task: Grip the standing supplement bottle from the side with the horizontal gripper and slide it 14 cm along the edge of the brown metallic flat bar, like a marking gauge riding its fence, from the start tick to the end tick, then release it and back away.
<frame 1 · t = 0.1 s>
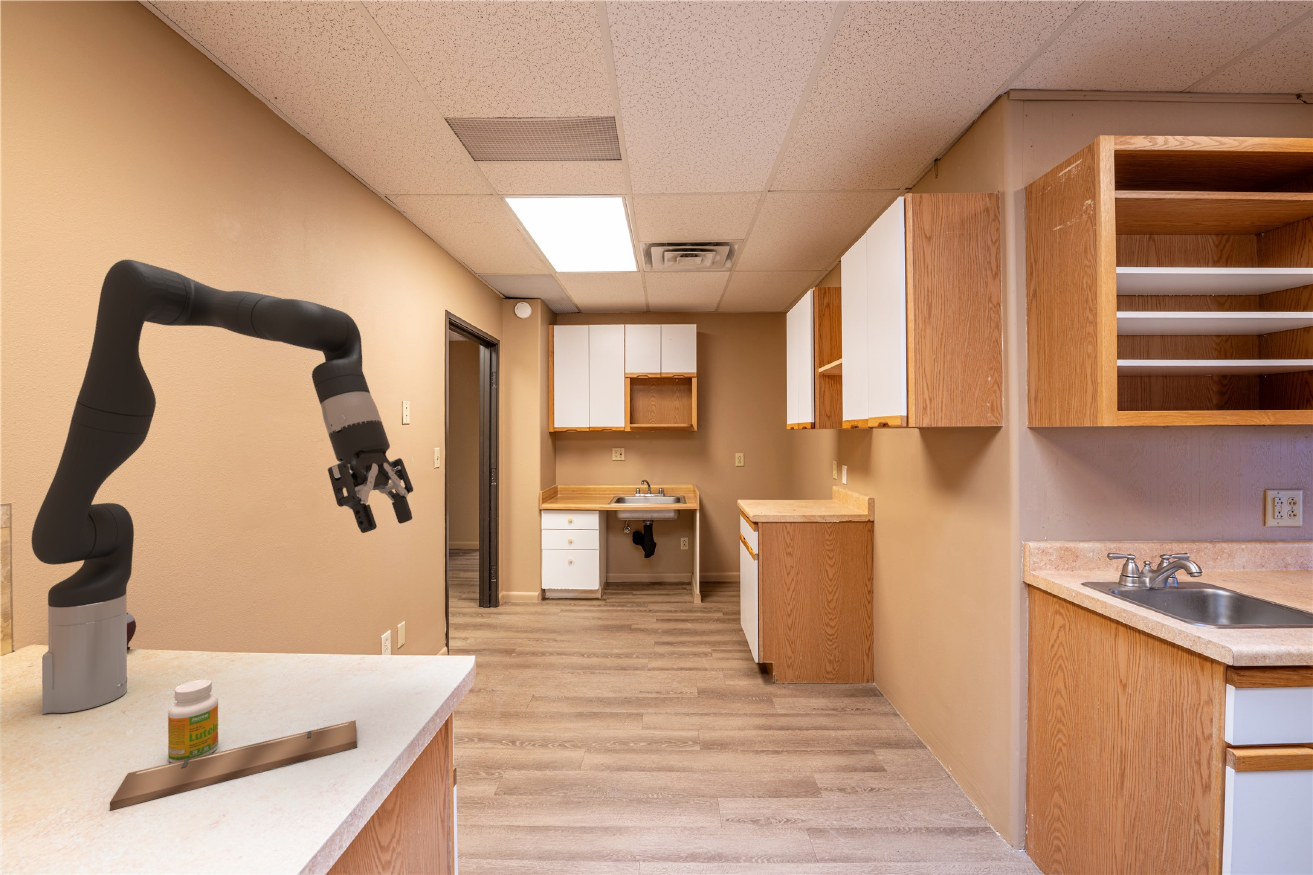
hand: (388, 526, 83), 31 cm above the countertop, tool tilted 20°, fingers open, 8 cm apart
supplement bottle: (193, 755, 77), on the countertop
mate gourd: (108, 656, 111), on the countertop
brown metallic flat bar: (248, 763, 74), on the countertop
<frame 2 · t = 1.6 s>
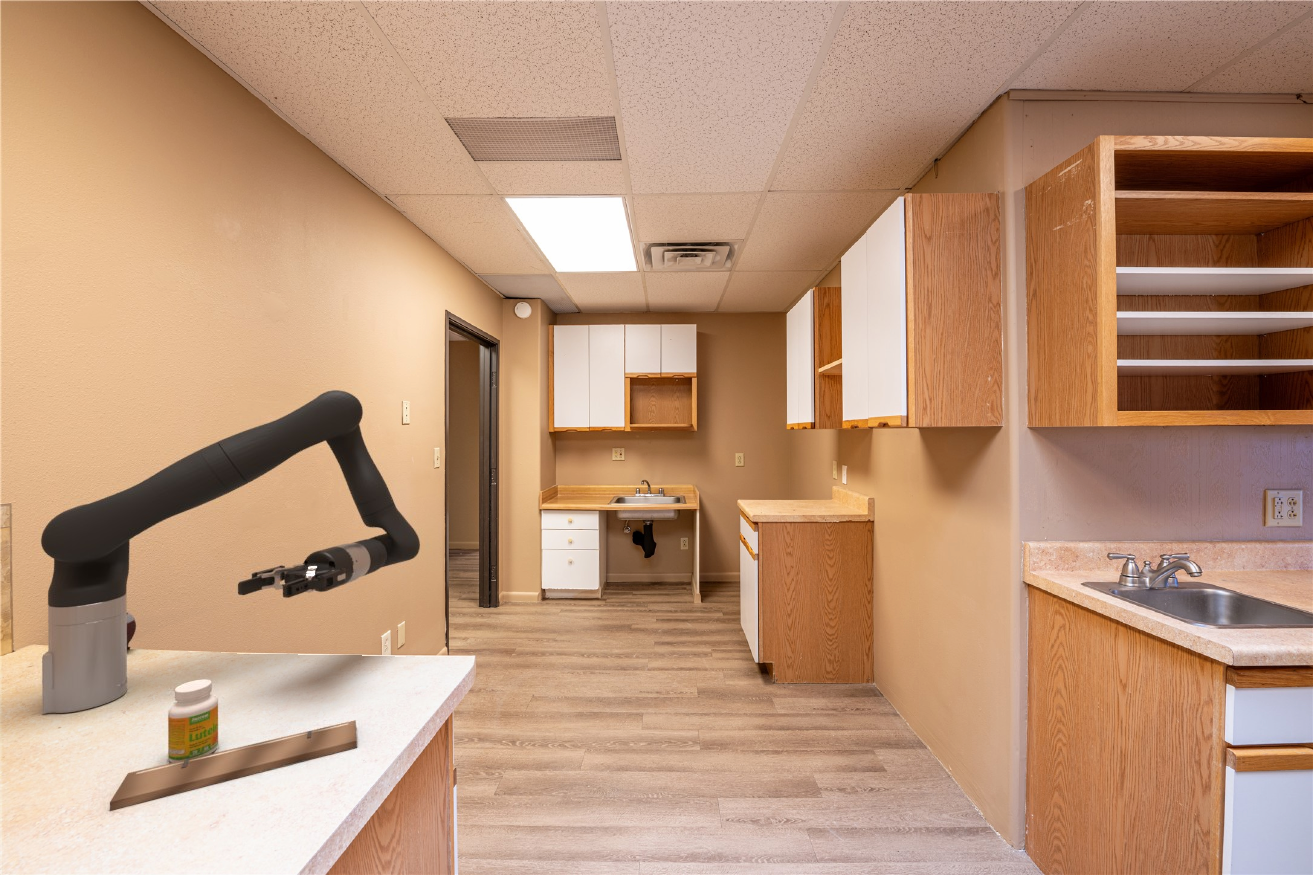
hand: (262, 590, 87), 20 cm above the countertop, tool horizontal, fingers open, 8 cm apart
nothing on the countertop moved.
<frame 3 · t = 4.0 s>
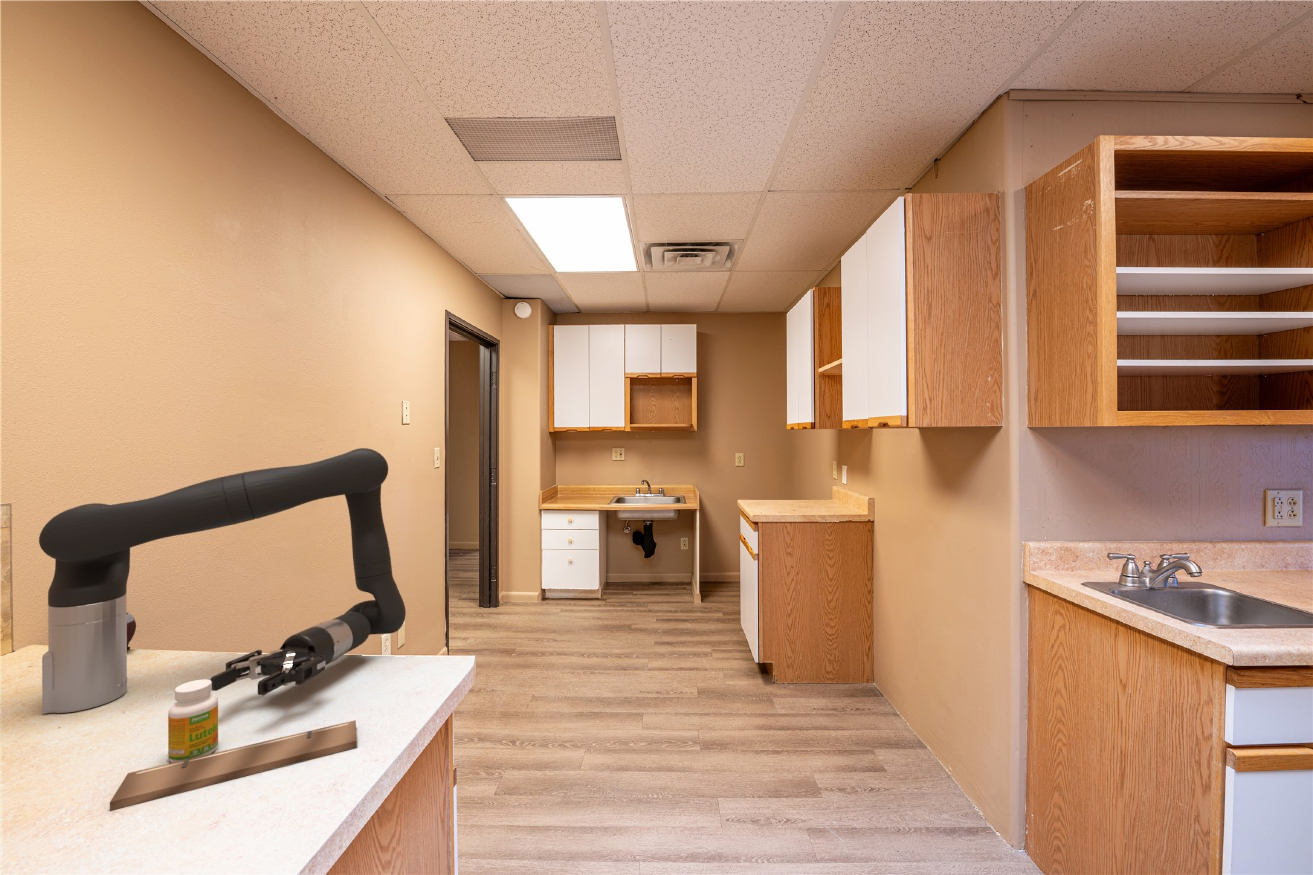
hand: (235, 686, 83), 7 cm above the countertop, tool horizontal, fingers open, 8 cm apart
nothing on the countertop moved.
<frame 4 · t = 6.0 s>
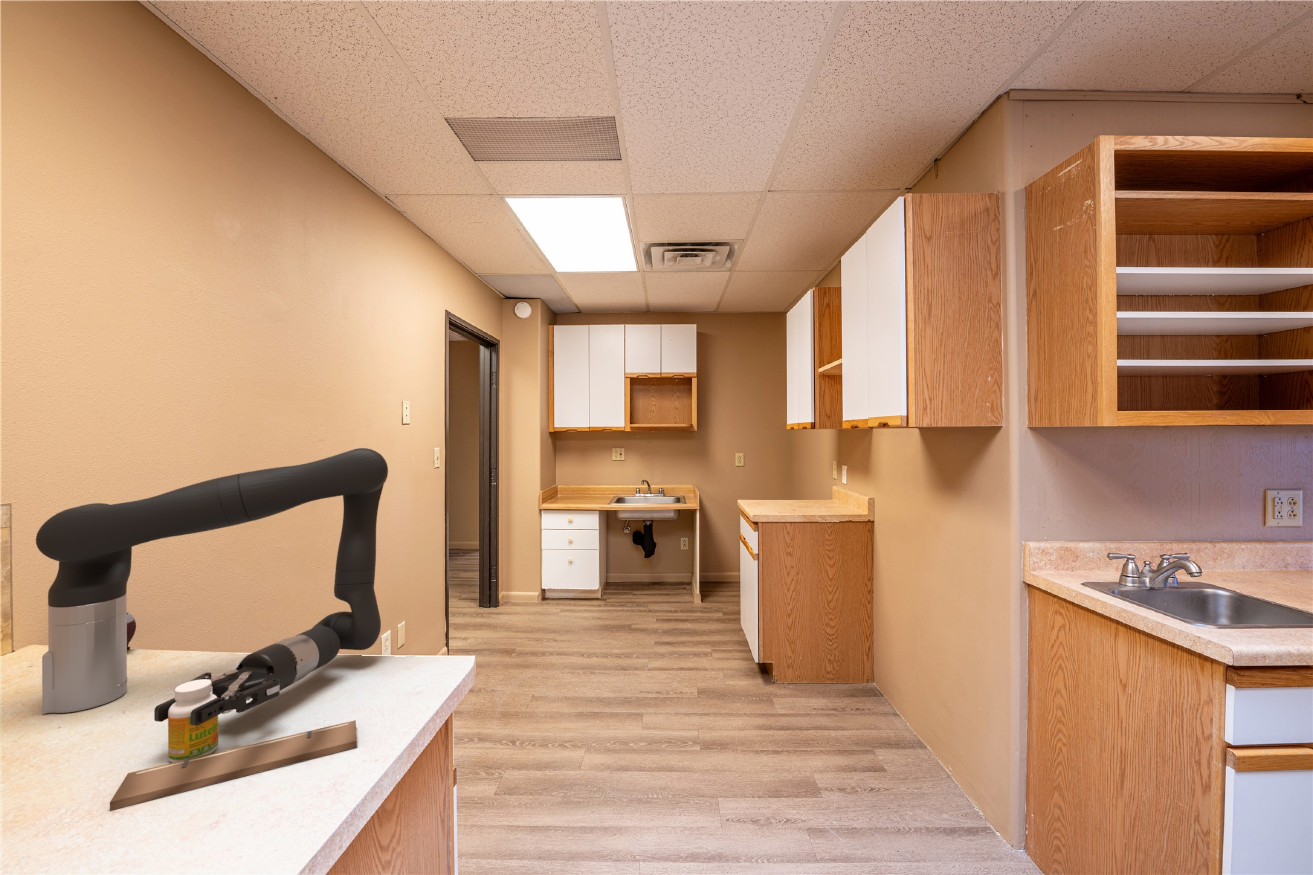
hand: (175, 716, 74), 7 cm above the countertop, tool horizontal, fingers closed on supplement bottle, 5 cm apart
supplement bottle: (193, 754, 77), on the countertop, touching gripper
everything else where it was.
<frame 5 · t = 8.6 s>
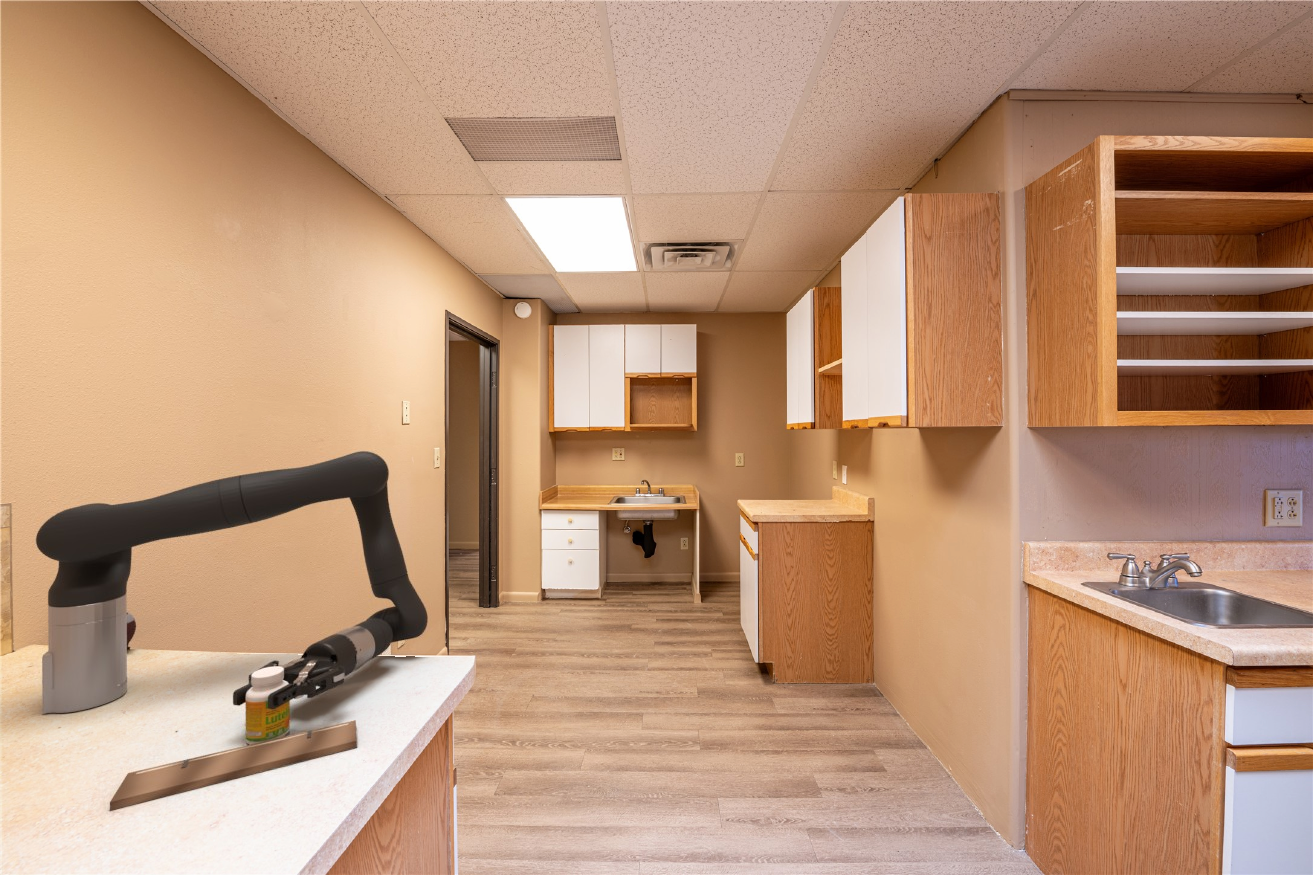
hand: (252, 700, 79), 7 cm above the countertop, tool horizontal, fingers closed on supplement bottle, 5 cm apart
supplement bottle: (268, 737, 81), on the countertop, touching gripper
everything else where it was.
when the fingers open (7 cm above the countertop, at t = 11.1 s): supplement bottle stays where it is, on the countertop.
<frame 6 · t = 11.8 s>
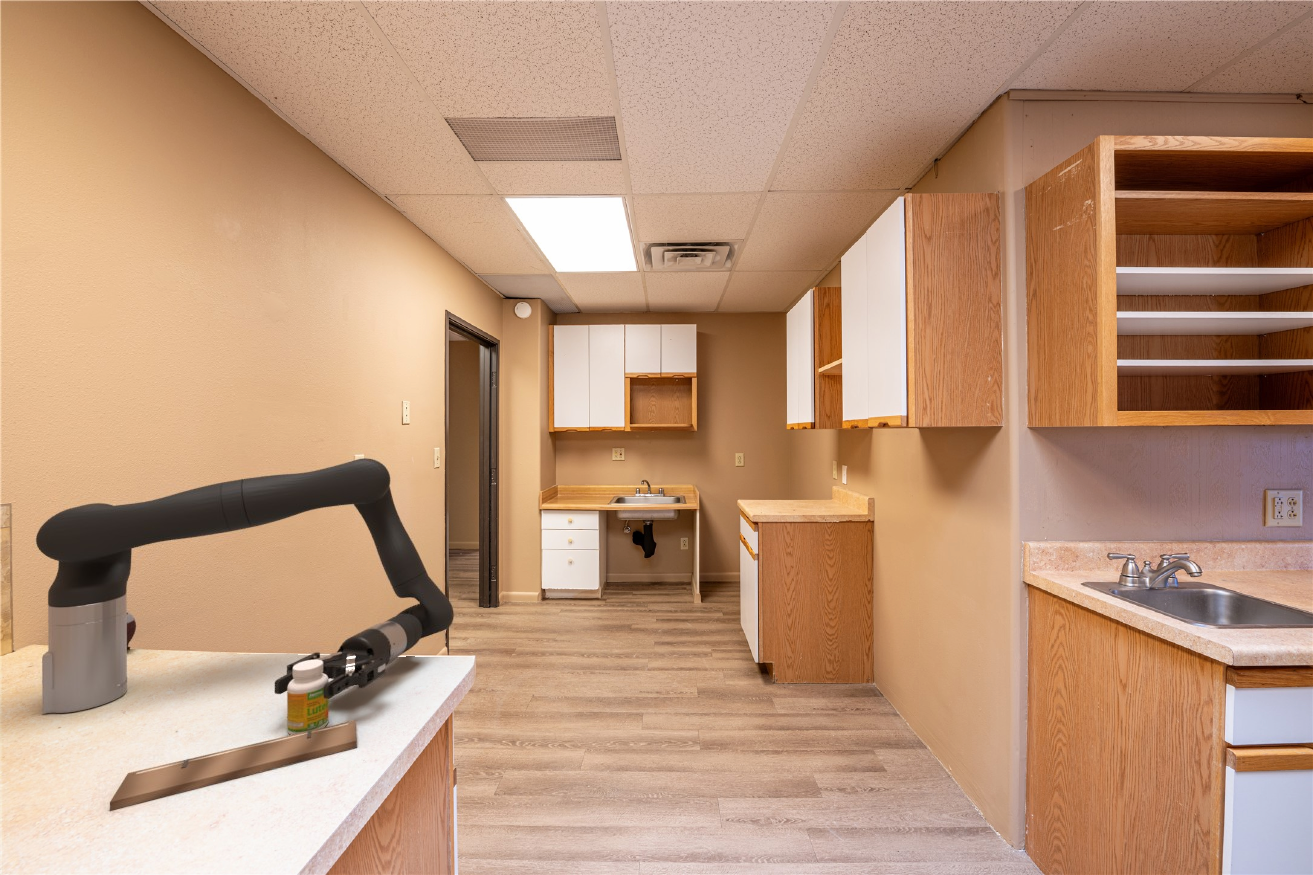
hand: (300, 690, 82), 7 cm above the countertop, tool horizontal, fingers open, 8 cm apart
supplement bottle: (308, 728, 84), on the countertop
everything else where it was.
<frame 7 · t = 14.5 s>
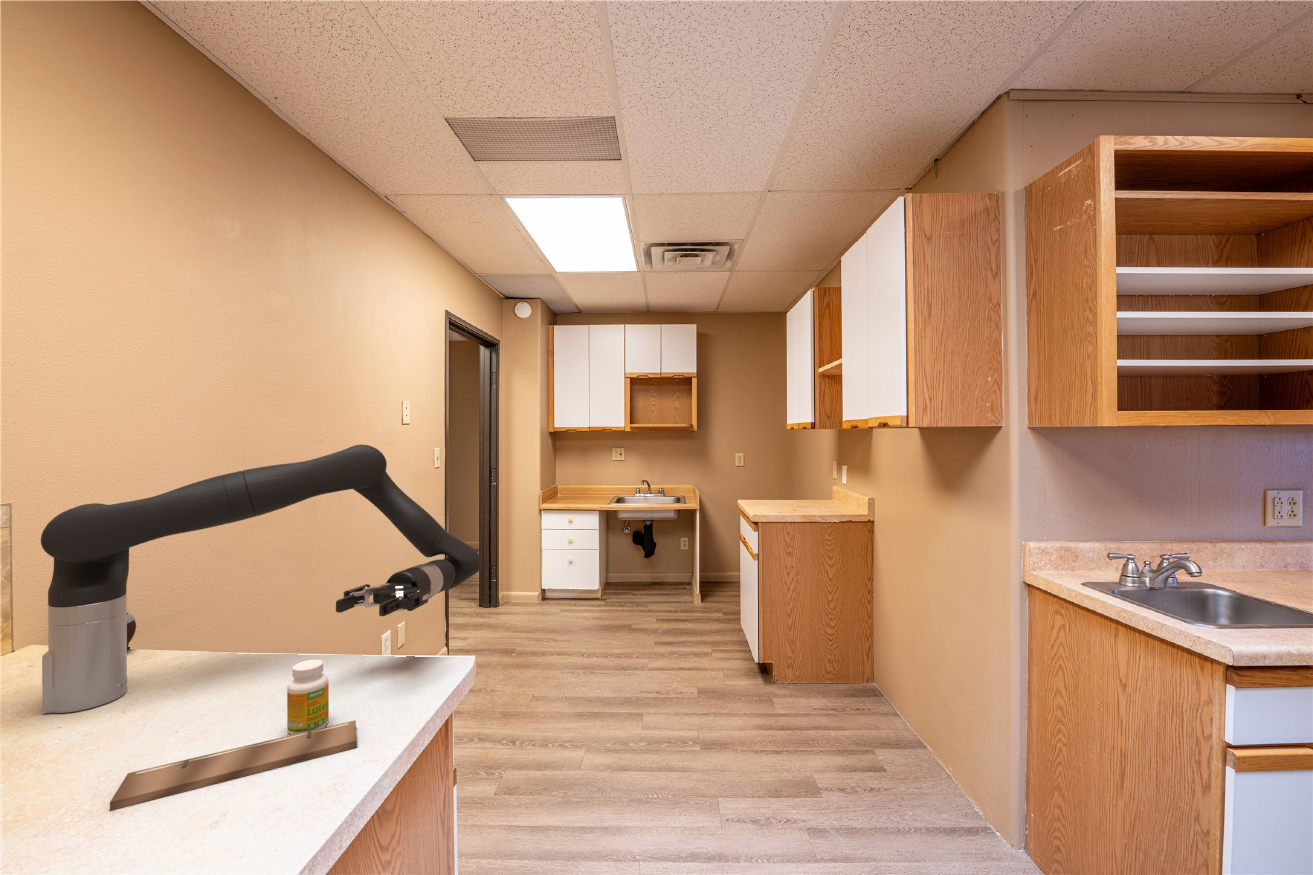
hand: (359, 608, 94), 15 cm above the countertop, tool horizontal, fingers open, 8 cm apart
nothing on the countertop moved.
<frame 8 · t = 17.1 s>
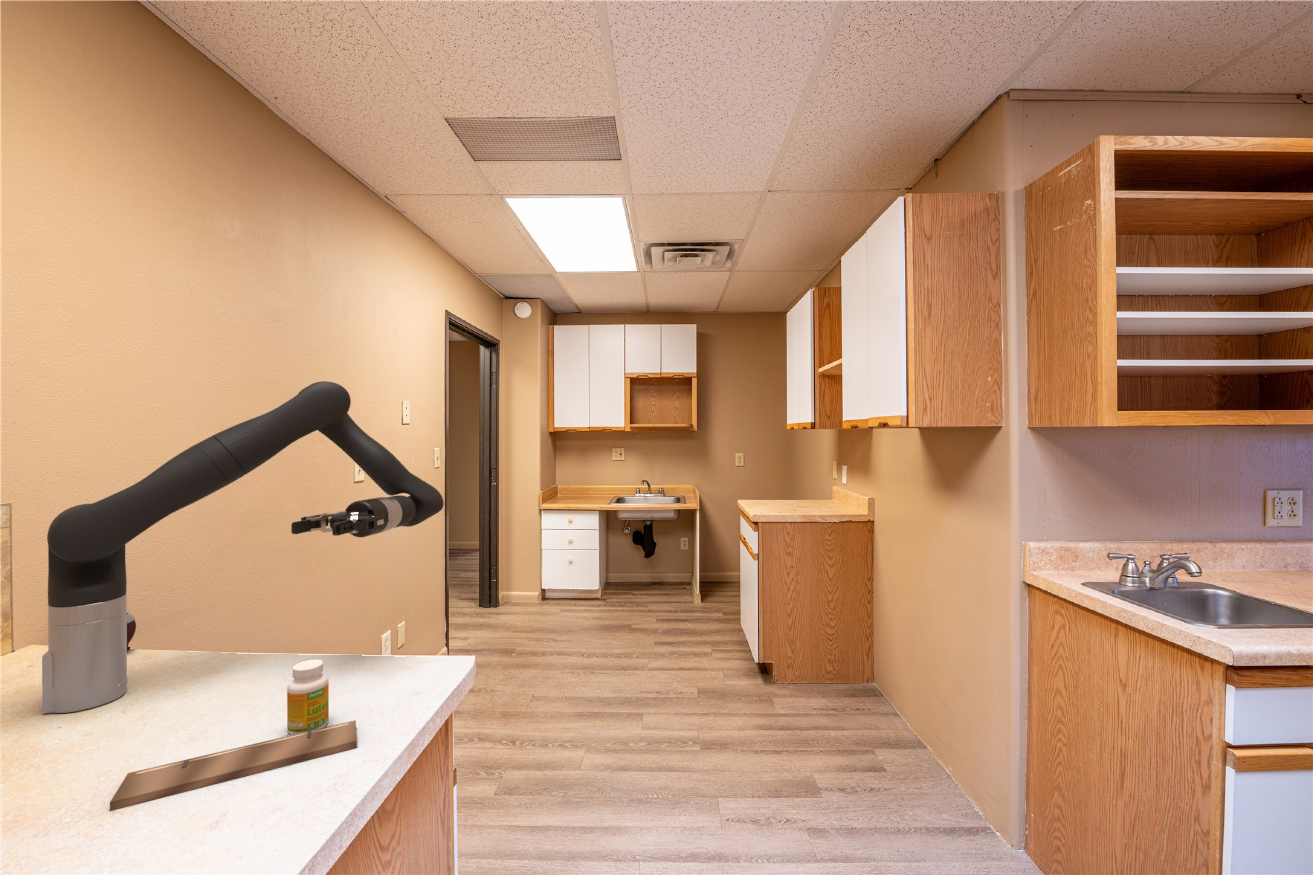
hand: (313, 529, 99), 28 cm above the countertop, tool horizontal, fingers open, 8 cm apart
nothing on the countertop moved.
at the end: supplement bottle 0.6 cm from the target spot, on the countertop; supplement bottle tilted 0°; the gripper is holding nothing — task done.
